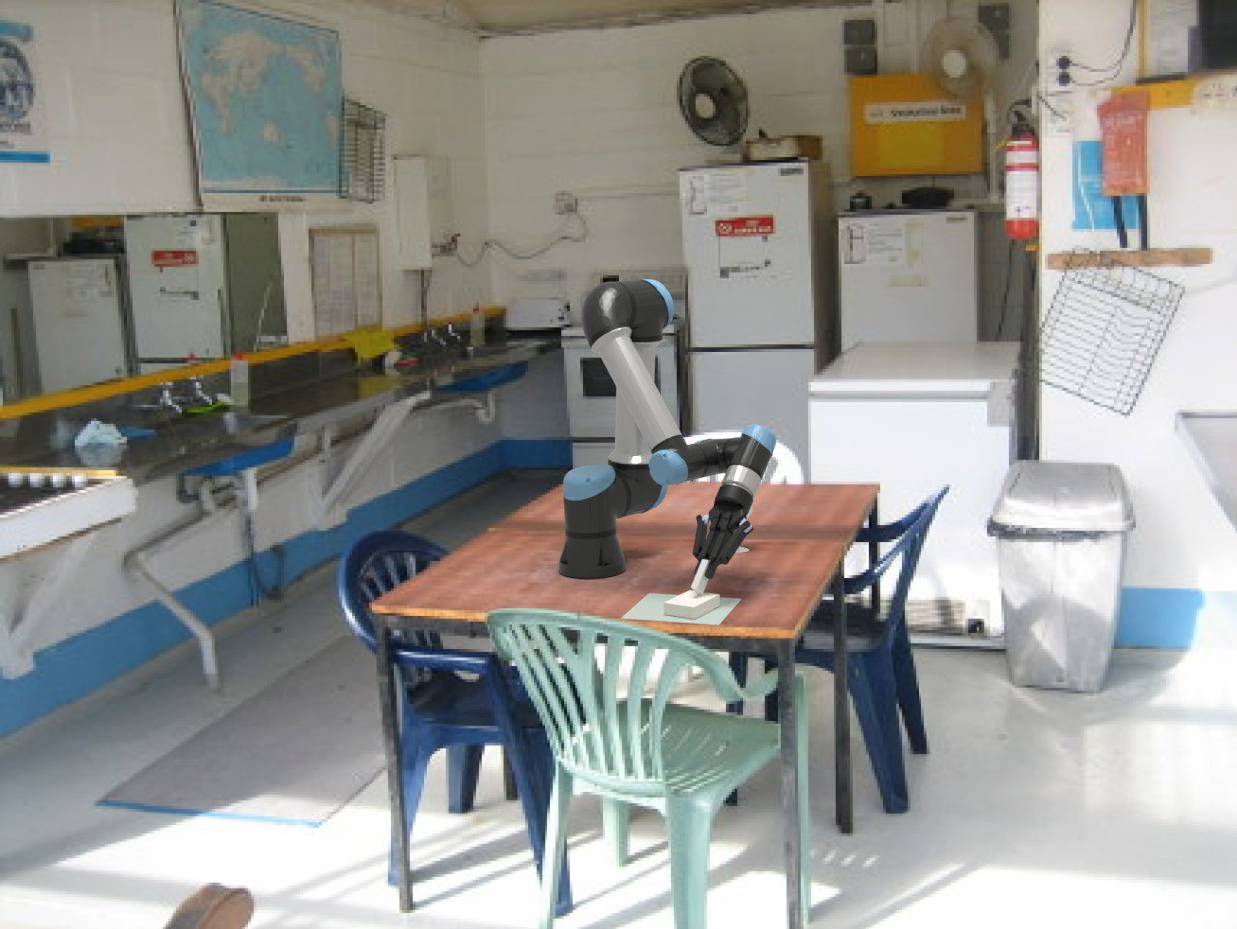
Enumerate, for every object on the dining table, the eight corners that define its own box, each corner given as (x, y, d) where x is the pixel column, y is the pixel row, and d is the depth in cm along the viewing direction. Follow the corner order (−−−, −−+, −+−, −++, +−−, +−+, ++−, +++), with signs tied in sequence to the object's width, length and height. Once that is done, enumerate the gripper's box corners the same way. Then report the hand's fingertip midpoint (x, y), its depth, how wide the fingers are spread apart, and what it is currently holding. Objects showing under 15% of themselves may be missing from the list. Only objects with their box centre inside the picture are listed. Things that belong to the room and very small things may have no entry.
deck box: (719, 606, 268) (694, 619, 260) (690, 602, 272) (664, 614, 263) (719, 594, 267) (693, 607, 259) (689, 590, 271) (663, 602, 263)
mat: (620, 621, 262) (620, 618, 262) (649, 595, 279) (648, 593, 279) (718, 628, 256) (718, 625, 256) (741, 601, 272) (741, 598, 272)
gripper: (771, 505, 275) (731, 604, 265) (717, 499, 282) (677, 595, 272) (757, 485, 269) (716, 585, 260) (703, 479, 277) (661, 577, 267)
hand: (696, 590), depth 266 cm, fingers closed
